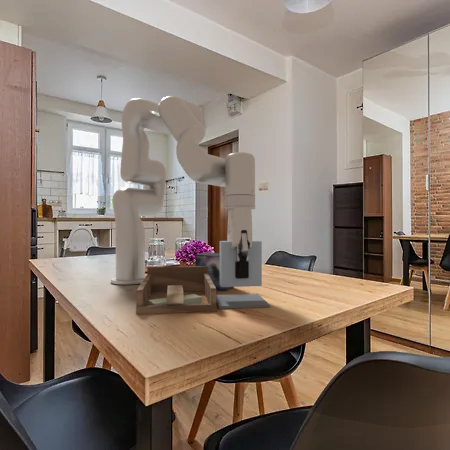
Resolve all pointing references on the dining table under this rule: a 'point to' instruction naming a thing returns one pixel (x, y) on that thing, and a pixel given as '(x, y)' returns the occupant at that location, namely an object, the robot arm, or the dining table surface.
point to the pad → (240, 301)
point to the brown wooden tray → (180, 275)
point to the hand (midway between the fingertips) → (240, 276)
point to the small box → (211, 267)
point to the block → (230, 258)
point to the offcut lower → (187, 300)
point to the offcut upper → (175, 294)
